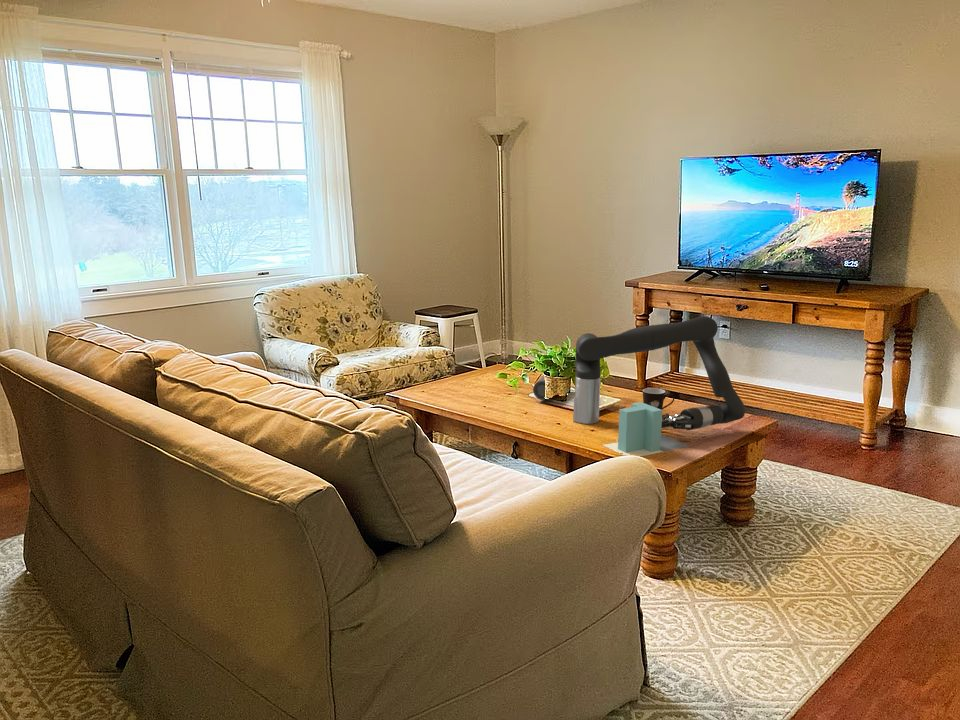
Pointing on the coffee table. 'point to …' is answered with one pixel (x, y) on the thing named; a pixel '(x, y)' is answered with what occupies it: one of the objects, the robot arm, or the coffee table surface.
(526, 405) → the coffee table surface
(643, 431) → the tee block
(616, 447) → the felt mat
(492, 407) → the coffee table surface
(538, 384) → the bluetooth speaker
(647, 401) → the coffee mug
